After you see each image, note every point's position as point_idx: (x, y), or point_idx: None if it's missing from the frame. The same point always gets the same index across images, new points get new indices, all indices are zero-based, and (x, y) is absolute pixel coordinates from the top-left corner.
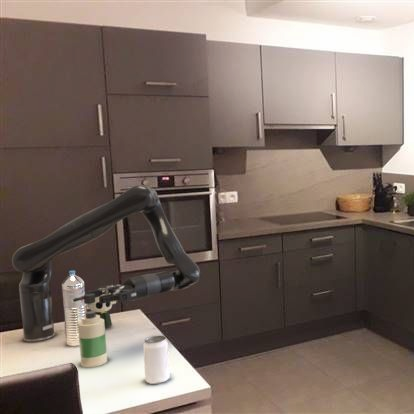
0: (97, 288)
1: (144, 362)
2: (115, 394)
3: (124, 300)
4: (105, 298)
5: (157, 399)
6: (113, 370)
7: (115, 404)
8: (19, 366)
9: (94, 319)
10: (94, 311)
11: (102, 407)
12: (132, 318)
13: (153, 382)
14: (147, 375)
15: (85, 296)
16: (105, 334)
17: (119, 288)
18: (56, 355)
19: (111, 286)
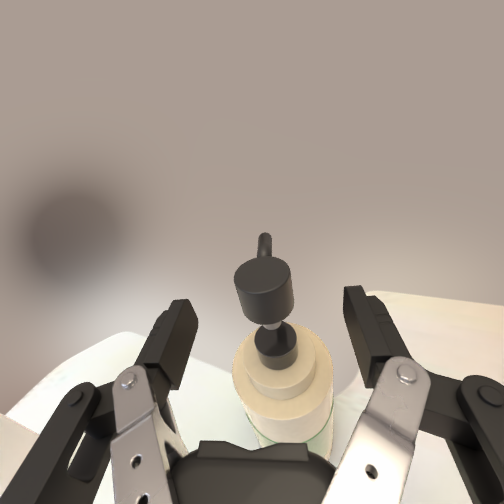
0: (468, 379)
1: (28, 429)
2: (107, 372)
3: (79, 460)
4: (158, 325)
5: (8, 413)
6: (197, 438)
7: (86, 356)
8: (398, 308)
9: (244, 352)
10: (273, 353)
11: (103, 340)
12: None
13: None
14: None
15: (252, 259)
16: (262, 437)
17: (156, 492)
18: None
19: (352, 488)
